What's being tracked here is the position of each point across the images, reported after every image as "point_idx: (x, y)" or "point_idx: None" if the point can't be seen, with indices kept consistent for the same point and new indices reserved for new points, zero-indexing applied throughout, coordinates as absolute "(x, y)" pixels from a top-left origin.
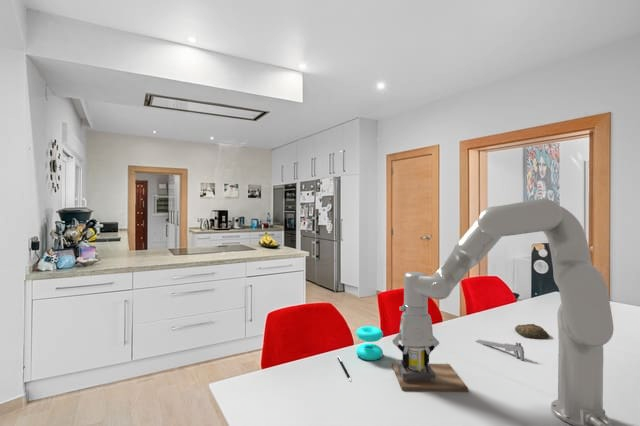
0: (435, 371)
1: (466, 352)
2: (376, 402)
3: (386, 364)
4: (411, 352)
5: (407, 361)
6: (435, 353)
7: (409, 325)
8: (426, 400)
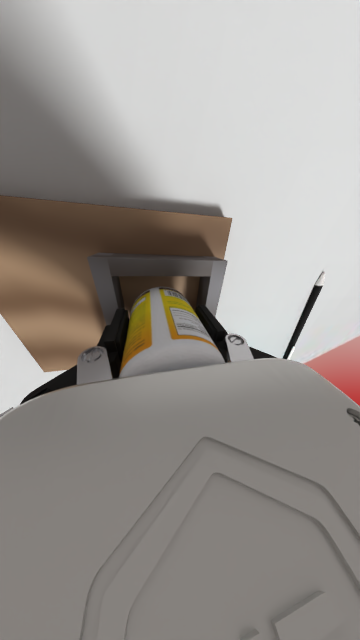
0: (91, 327)
1: None
2: (348, 119)
3: None
4: (208, 337)
5: (206, 313)
6: None
7: None
8: (157, 106)
